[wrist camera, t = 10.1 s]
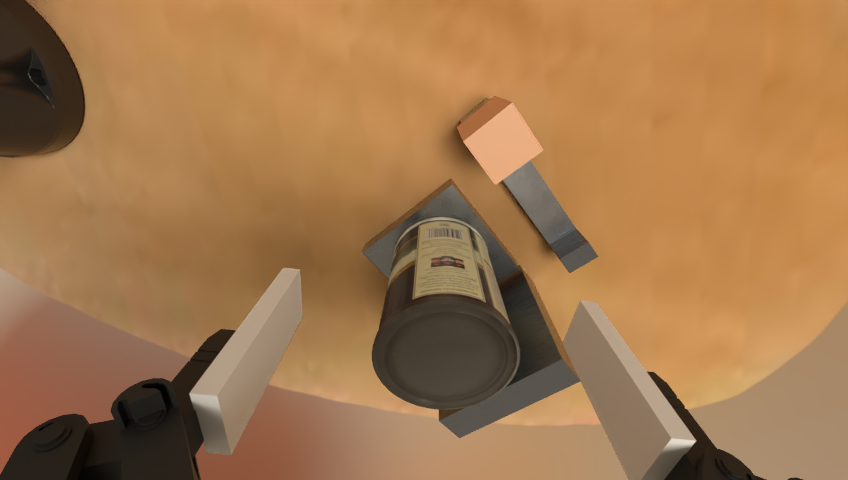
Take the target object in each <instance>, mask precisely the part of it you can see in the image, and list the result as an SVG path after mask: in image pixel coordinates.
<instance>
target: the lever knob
mask: <svg viewBox="0 0 848 480" xmlns="http://www.w3.org/2000/svg"><path fill="white" fill-rule="evenodd" d="M457 129H458V131H459V134H460V136H461V138H462V140H463V142H464V143H465V145H466V146H467V148H468V149H469V150H470V152H471V153H472V154H473V156H474V157H475V158H476V160H477V161H478V162H479V164H480V165H481V166H482V168H483V169H484V170H485V172H486V173H487V174H488V176H489V177H490V179H491V180H492V181H493V183H494V184H495V185H496V184H498V183H499V182H501V181H502V180H503V179H505V178H506V177H508V176H509V175H510V174H512V173H513V172H514V171H516V170H517V169H519V168H520V167H521V166H523V165H524V164H526V163H527V162H528V161H530V160H531V159H532V158H534V157H535V156H537V155H538V154H539V153H541V152H542V151H544V150H543V149H542V147H541V146H540V144H539V143H538V141H537V139H536V138H535V136H534V135H533V133H532V132H531V130H530V129H529V127H528V126H527V124H526V122H525V121H524V119H523V118H522V116H521V115H520V113H519V112H518V110H517V109H516V107H515V105H514V104H513V102H510V101H507V100H504V99H502V98H499V97H496V96H494V97H493V98H492V99H491V100H489V101H488V102H487V103H486V104H484V105H483V106H482V107H481V108H480V109H478V110H477V111H476V112H475V113H473V114H472V115H471V116H470V117H469V118H467V119H466V120H465V121H464V122H462V123H461V124H460V125H459V126H458V127H457Z"/></svg>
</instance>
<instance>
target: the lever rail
mask: <svg viewBox="0 0 848 480" xmlns="http://www.w3.org/2000/svg"><path fill="white" fill-rule="evenodd" d="M488 101H489V100H488V99H485V100H483V101H482V102H481V103H480V104H478V105H477V106H476V107H475V108H474V109H472V110H471V111H470V112H469V113H468V114H466V115H465V116H464V117H463V118H461V119H460V122H461V123H462V122H464V121H465V120H466V119H467V118H469V117H470V116H471V115H472V114H473V113H475V112H476V111H477V110H478V109H480V108H481V107H482V106H483V105H484V104H486V103H487V102H488ZM503 181H504V183H505V184H506V186H507V187H508V188H509V190H510V191H511V192H512V194H513V195H514V197H515V198H516V199H517V201H518V202H519V203H520V205H521V206H522V208H523V209H524V210H525V212H526V213H527V214H528V216H529V217H530V219H531V220H532V221H533V223H534V224H535V225H536V227H537V228H538V230H539V231H540V232H541V234H542V235H543V236H544V238H545V239H546V241H547V242H548V243H549V245H550V246H551V248H552V249H553V251H554V252H555V253H556V255H557V256H558V258H559V259H560V261H561V262H562V263H563V265H564V266H565V268H566V269H567V270H568V272H569V273H571V272H573V271H574V270H576V269H578V268H579V267H581V266H583V265H585V264H586V263H588V262H590V261H591V260H593V259H595V258H597V257H598V256H597V254H596V253H595V251H594V250H593V248H592V247H591V245H590V244H589V242H588V241H587V240H586V239H585V238H584V237H583V236H582V234H581V233H580V232H579V231H578V230H577V229H576V228H575V226H574V225H573V223H572V222H571V220H570V219H569V217H568V216H567V214H566V213H565V212H564V210H563V209H562V207H561V206H560V204H559V203H558V201H557V200H556V198H555V197H554V195H553V194H552V192H551V191H550V189H549V188H548V186H547V185H546V183H545V182H544V180H543V179H542V177H541V176H540V174H539V173H538V171H537V170H536V168H535V167H534V165H533V164H532V163H531V161H528V162H527V163H526V164H524V165H523V166H521V167H520V168H519V169H517V170H516V171H514V172H513V173H512V174H510V175H509V176H508V177H506V178H505V179H503Z"/></svg>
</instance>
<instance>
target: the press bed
mask: <svg viewBox="0 0 848 480" xmlns="http://www.w3.org/2000/svg"><path fill="white" fill-rule="evenodd" d="M433 217H449V218H454V219H459V220H461V221H463V222H465V223H467V224H469V225H470V226H472V227H473V228H474V229H475V230H477V231H478V233H479V234H480V235H481V236H482V238H483V240H484V241H485V243H486V246H487V250H488V255H489V258H490V262H491V265H492V268H493V271H494V275H495V278H496V281H497V284H498V287H499V290H500V293H501V297H502V300H503V303H504V306H505V309H506V312H507V316H508V319H509V322H510V325H511V326H512V328H513V330H514V332H515V334H516V337H517V340H518V343H519V348H520V361H519V366H518V369H517V371H516V373H515V375H514V377H513V379H512V380H511V381H510V383H509V384H508V385H507V386H506V387H505V388H504V389H503V390H502V391H501V392H499V393H498V394H497V395H495V396H494V397H492V398H490V399H488V400H486V401H484V402H482V403H480V404H477V405H473V406H470V407H465V408H460V409H450V410H440V409H439V421H440V422H441V423H442V424H443V425H445V426H446V427H447V428H448V429H449V430H451V431H452V432H453V433H454V434H455V435H456V436H458V437H459V438H461V437H463V436H465V435H467V434H469V433H471V432H473V431H476V430H478V429H480V428H482V427H484V426H486V425H488V424H491V423H493V422H495V421H497V420H499V419H501V418H503V417H505V416H508V415H510V414H512V413H514V412H516V411H518V410H520V409H522V408H525V407H527V406H529V405H531V404H533V403H535V402H537V401H539V400H542V399H544V398H546V397H548V396H550V395H552V394H554V393H556V392H559V391H561V390H563V389H565V388H567V387H569V386H571V385H573V384H576V383H578V382H580V379H579V377H578V375H577V373H576V371H575V369H574V367H573V364H572V362H571V360H570V358H569V356H568V354H567V352H566V350H565V348H564V346H563V344H562V341H561V339H560V337H559V334H558V332H557V330H556V328H555V326H554V324H553V322H552V320H551V318H550V316H549V314H548V312H547V310H546V308H545V305H544V303H543V301H542V299H541V297H540V295H539V293H538V291H537V289H536V287H535V285H534V283H533V281H532V280H531V279H530V278H529V276H528V275H527V274H526V273H525V271H524V270H523V269H522V268H521V266H518V265H517V263H516V260H515V259H514V257H513V256H512V255H511V254H510V252H509V251H508V250H507V249H506V247H505V246H504V245H503V244H502V242H501V241H500V240H499V239H498V237H497V236H496V235H495V233H494V232H493V231H492V230H491V228H490V227H489V226H488V225H487V223H486V222H485V221H484V220H483V218H482V217H481V216H480V215H479V213H478V212H477V211H476V210H475V208H474V207H473V206H472V204H471V203H470V202H469V201H468V199H467V198H466V197H465V196H464V194H463V193H462V192H461V191H460V189H459V188H458V187H457V186H456V184H455V183H454V182H453V181H452V179H450V180H449V181H448V182H446V183H445V184H444V185H442V186H441V187H440V188H438V189H437V190H436V191H434V192H433V193H432V194H431V195H429V196H428V197H427V198H425V199H424V200H423V201H421V202H420V203H419V204H417V205H416V206H415V207H414V208H412V209H411V210H410V211H408V212H407V213H406V214H404V215H403V216H402V217H401V218H399V219H398V220H397V221H395V222H394V223H393V224H391V225H390V226H389V227H387V228H386V229H385V230H384V231H382V232H381V233H380V234H378V235H377V236H376V237H374V238H373V239H372V240H370V241H369V242H368V243H367V244H365V247H364V250H363V252H362V253H363V254H364V255H365V256H366V257H367V258H368V259H369V260H370V261H371V262H372V263H373V264H374V265H375V266H376V267H377V268H378V269H379V270H380V271H381V272H382V273H383V274H384V275H385V276H386V277H387V278H388V279H389V278H390V273H391V267H392V263H393V254H394V249H395V246H396V244H397V242H398V240H399V238H400V237H401V235H402V234H403V233H404V232H405V231H406V230H407V229H408V228H409V227H411V226H412V225H414V224H416V223H417V222H419V221H422V220H425V219H429V218H433Z"/></svg>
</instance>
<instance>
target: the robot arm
mask: <svg viewBox="0 0 848 480" xmlns="http://www.w3.org/2000/svg"><path fill="white" fill-rule="evenodd" d="M83 110H84V104H83V94H82V89H81V85H80V81H79V78H78V75H77V72H76V70H75V67H74V65H73V63H72V61H71V59H70V57H69V55H68V53H67V51H66V50H65V48H64V46H63V45H62V43H61V42H60V40H59V39H58V37H57V36H56V35H55V33H54V32H53V30H52V29H51V28H50V27H49V25H48V24H47V23H46V22H45V21H44V20H43V19H42V17H41V16H40V15H39V14H38V13H37V12H36V11H35V10H34V9H33V8H32V7H31V6H30V5H29V4H27V3H26V2H25V1H24V0H0V157H12V158H13V157H27V156H33V155H38V154H43V153H48V152H52V151H55V150H58V149H60V148H62V147H64V146H66V145H67V144H68V143H69V142H70V141H72V140H73V138H74V137H75V136H76V134H77V133H78V131H79V128H80V126H81V123H82V119H83ZM302 317H303V311H302V293H301V275H300V269H291V268H283V269H282V270H281V271H280V273H279V274H278V275H277V277H276V278H275V279H274V281H273V282H272V283H271V285H270V286H269V287H268V289H267V290H266V291H265V293H264V294H263V295H262V297H261V298H260V299H259V301H258V302H257V303H256V305H255V306H254V307H253V309H252V310H251V311H250V313H249V314H248V315H247V317H246V318H245V319H244V321H243V322H242V323H241V325H240V326H239V327H238V329H237V330H236V331H235V330H225V329H221V330H219V331H218V332H216V333H215V334H213V335H212V336H210V337H209V338H208V339H207V340H206V341H205V342H204V343H203V345H202V346H201V347H200V348H199V349H198V352H196V353H195V354H194V355H193V357H192V358H191V359H190V362H188V363H187V364H186V365H185V366H184V368H183V369H182V370H181V371H180V372H179V373H178V375H177V376H176V377H175V378H174V379H173V381H172V382H170V381H168V380H165V379H163V378H160V379H158V378H157V379H156V378H153V379H149V380H145V381H141V382H139V383H137V384H135V385H133V386H131V387H129V388H128V389H126V390H125V391H124V392H122V393H121V394H120V395H119V396H118V397H117V399H116V400H115V401H114V402H113V404H112V408H111V413H112V415H113V417H114V420H109V421H104V422H99V423H93V424H89V423H88V421H87V420H86V418H85V417H84V416H82V415H78V414H69V415H62V416H59V417H56V418H54V419H51V420H49V421H47V422H45V423H43V424H41V425H39V426H38V427H36V428H34V429H33V430H32V431H31V432H29V433H28V434H27V435H26V436H24V437H23V439H22V440H21V441H20V442H19V444H18V445H17V446H16V448H15V449H14V451H13V453H12V455H11V457H10V458H9V460H8V462H7V464H6V465H5V467H4V469H3V471H2V473H1V475H0V480H201V479H200V474H199V469H198V465H197V459H196V457H195V454H196V453H197V451H198V450H199V448H200V446H201V445H202V443H204V446H205V449H206V452H207V453H216V454H227V455H231V454H232V452H233V450H234V448H235V447H236V445H237V443H238V441H239V439H240V437H241V435H242V433H243V431H244V429H245V427H246V425H247V423H248V422H249V420H250V418H251V416H252V414H253V412H254V410H255V408H256V406H257V404H258V402H259V400H260V398H261V396H262V395H263V393H264V391H265V389H266V387H267V385H268V383H269V381H270V379H271V377H272V375H273V373H274V371H275V369H276V368H277V366H278V364H279V362H280V360H281V358H282V356H283V354H284V352H285V350H286V348H287V346H288V344H289V342H290V340H291V339H292V337H293V335H294V333H295V331H296V329H297V327H298V325H299V323H300V321H301V319H302ZM562 344H563V346H564V348H565V350H566V352H567V354H568V356H569V358H570V360H571V362H572V364H573V367H574V369H575V371H576V373H577V375H578V377H579V379H580V381H581V383H582V385H583V387H584V389H585V391H586V393H587V395H588V397H589V399H590V401H591V403H592V405H593V407H594V410H595V412H596V414H597V416H598V418H599V420H600V422H601V424H602V426H603V428H604V430H605V432H606V434H607V436H608V438H609V440H610V442H611V444H612V446H613V448H614V450H615V452H616V455H617V457H618V459H619V461H620V463H621V465H622V467H623V469H624V471H625V473H626V475H627V477H628V479H629V480H765V479H763V478H760V477H758V476H755V475H753V473H752V472H751V470H750V469H749V468H747V467H746V466H745V465H744V464H743V463H742V462H741V461H740V460H739V459H737V458H736V457H734V456H733V455H731V454H729V453H727V452H725V451H723V450H720V449H717V448H716V447H715V446H714V444H713V443H712V442H711V440H710V439H709V438H708V437H707V435H706V434H705V433H704V431H703V430H702V429H701V427H700V426H699V425H698V423H697V422H696V421H695V420H694V418H693V417H692V416H691V414H690V413H689V412H688V410H687V409H685V408H684V407H685V406H684V405H683V404H682V402H681V401H680V400H679V399H677V396H676V394H675V393H674V392H673V391H672V389H671V388H670V387H669V385H668V384H667V383H666V382H665V381H664V380H662V379H661V378H660V377H659V376H658V375H657V374H655V373H654V372H647V371H646V370H645V369H644V368H643V366H642V365H641V363H640V362H639V361H638V359H637V358H636V356H635V355H634V354H633V352H632V351H631V350H630V348H629V347H628V345H627V344H626V343H625V341H624V340H623V338H622V337H621V336H620V334H619V333H618V332H617V330H616V329H615V327H614V326H613V325H612V323H611V322H610V321H609V319H608V318H607V316H606V315H605V314H604V312H603V311H602V309H601V308H600V307H599V305H598V304H597V303H596V302H592V301H583V300H580V302H579V305H578V307H577V309H576V312H575V314H574V317H573V319H572V322H571V324H570V326H569V329H568V331H567V334H566V336H565V339H564V341H563V343H562ZM788 480H802V479H799V478H790V479H788Z"/></svg>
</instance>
